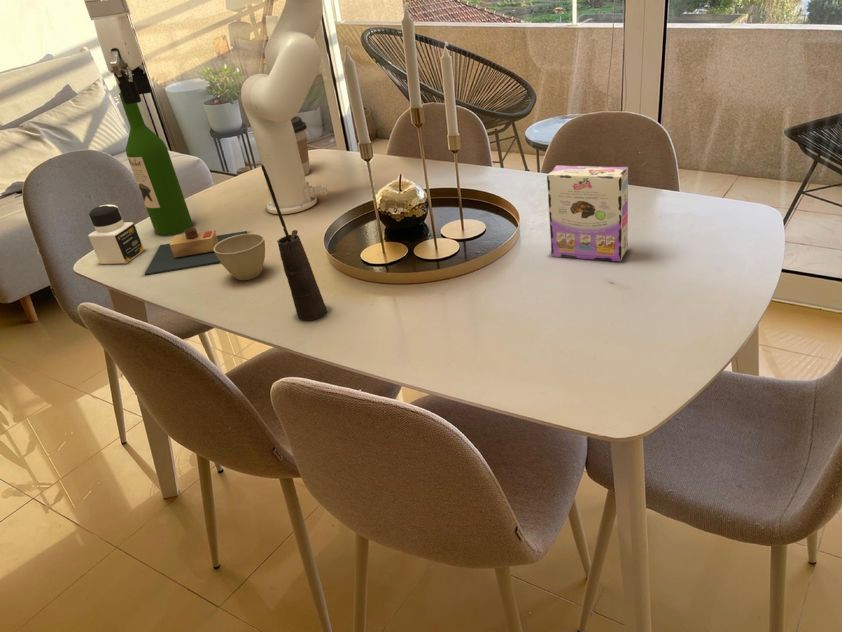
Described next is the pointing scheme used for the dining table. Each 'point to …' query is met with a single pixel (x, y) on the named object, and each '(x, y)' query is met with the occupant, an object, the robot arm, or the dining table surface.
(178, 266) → the desk mat
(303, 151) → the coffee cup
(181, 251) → the stamp
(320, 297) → the butter churn
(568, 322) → the dining table surface
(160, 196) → the wine bottle
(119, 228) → the medicine bottle
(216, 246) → the beige bowl
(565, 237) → the candy box
